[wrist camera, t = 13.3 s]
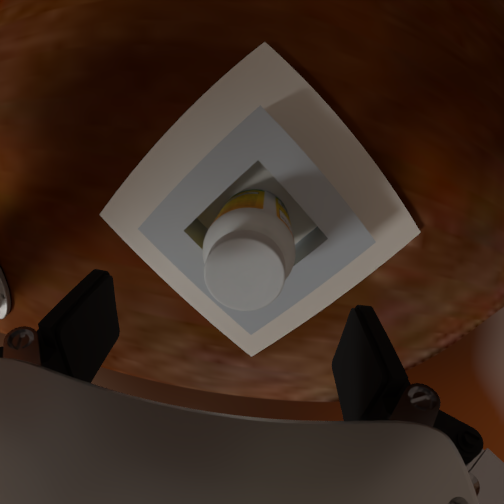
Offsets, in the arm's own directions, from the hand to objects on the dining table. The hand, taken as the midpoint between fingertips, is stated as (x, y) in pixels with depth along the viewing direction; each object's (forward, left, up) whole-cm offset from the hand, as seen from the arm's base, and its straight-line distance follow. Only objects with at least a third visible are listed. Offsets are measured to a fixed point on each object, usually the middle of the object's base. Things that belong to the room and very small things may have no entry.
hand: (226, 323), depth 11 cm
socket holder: (0, 0, -14) cm, 14 cm away
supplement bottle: (0, 0, -14) cm, 14 cm away
